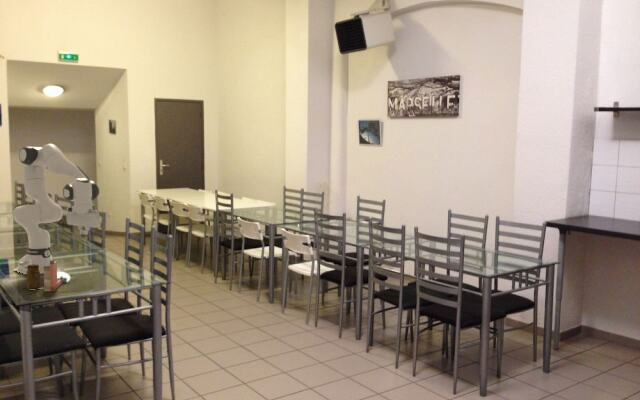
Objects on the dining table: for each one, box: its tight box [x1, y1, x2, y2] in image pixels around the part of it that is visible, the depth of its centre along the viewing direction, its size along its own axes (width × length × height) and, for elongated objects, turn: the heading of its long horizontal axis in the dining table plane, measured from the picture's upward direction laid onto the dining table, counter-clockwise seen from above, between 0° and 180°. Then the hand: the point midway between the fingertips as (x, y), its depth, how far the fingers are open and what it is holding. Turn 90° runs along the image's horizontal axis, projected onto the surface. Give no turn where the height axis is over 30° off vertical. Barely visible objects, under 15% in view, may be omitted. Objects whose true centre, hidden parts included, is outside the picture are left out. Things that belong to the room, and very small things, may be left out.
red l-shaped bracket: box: [49, 259, 62, 293], centre depth 296 cm, size 16×2×16 cm, turn 11°
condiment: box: [26, 264, 45, 290], centre depth 294 cm, size 7×8×12 cm
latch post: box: [43, 265, 50, 292], centre depth 291 cm, size 4×4×13 cm
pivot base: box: [57, 275, 68, 285], centre depth 307 cm, size 5×5×3 cm
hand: (83, 234), depth 306 cm, fingers closed
